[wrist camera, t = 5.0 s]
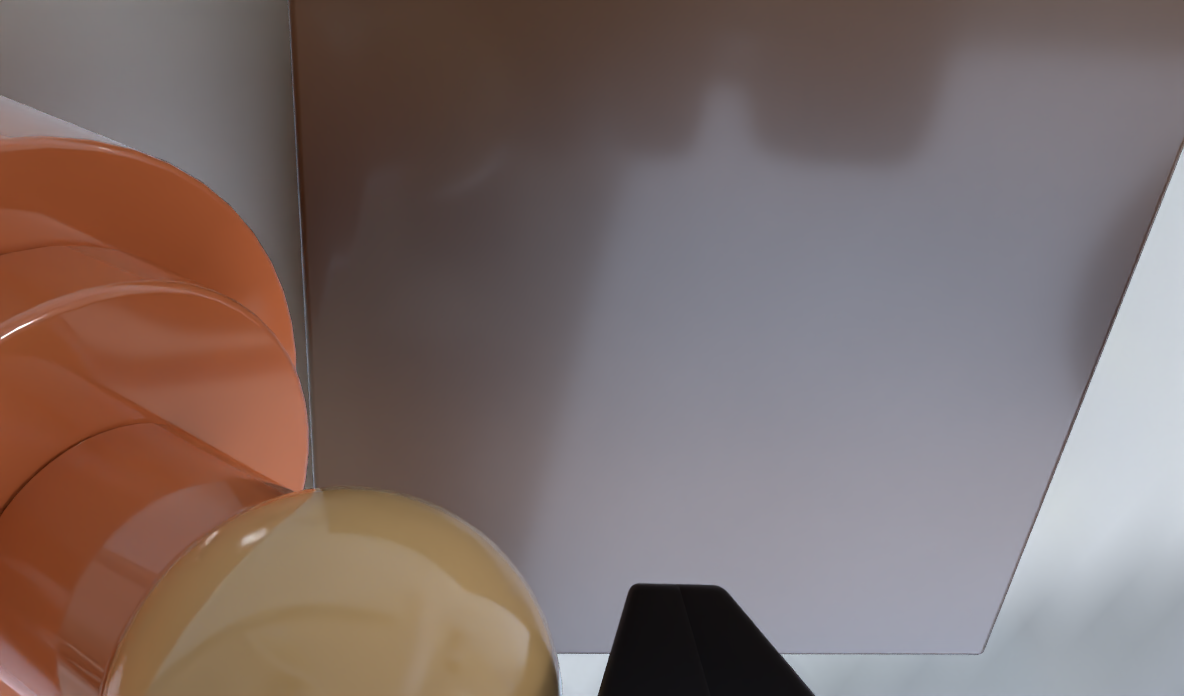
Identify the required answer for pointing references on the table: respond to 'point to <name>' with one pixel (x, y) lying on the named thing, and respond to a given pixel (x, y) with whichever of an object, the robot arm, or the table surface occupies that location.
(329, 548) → the bottle
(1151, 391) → the table surface
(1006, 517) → the riser
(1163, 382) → the table surface
